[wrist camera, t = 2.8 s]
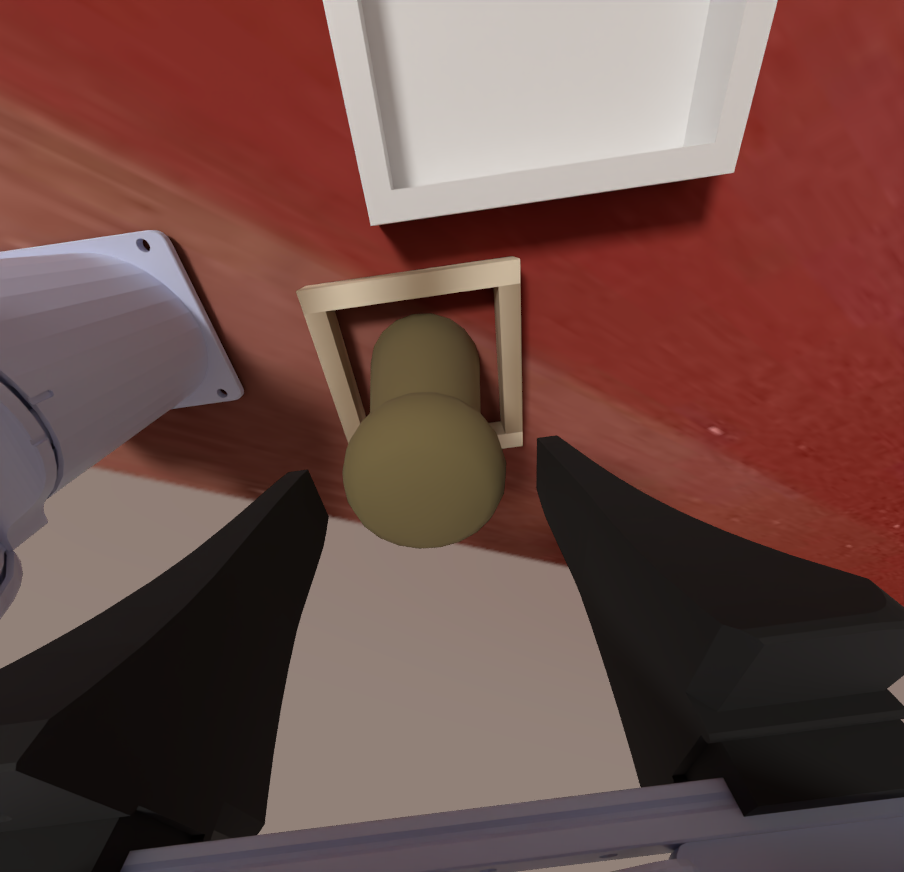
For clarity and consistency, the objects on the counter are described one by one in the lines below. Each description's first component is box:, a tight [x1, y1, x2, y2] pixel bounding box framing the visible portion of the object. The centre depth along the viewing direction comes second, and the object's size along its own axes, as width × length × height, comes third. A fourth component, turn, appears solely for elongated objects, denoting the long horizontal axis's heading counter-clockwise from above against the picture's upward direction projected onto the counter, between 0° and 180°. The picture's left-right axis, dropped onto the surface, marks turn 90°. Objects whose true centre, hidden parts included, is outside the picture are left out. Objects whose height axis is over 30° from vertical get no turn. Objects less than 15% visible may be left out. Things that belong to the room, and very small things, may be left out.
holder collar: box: [296, 256, 523, 449], centre depth 18 cm, size 10×10×2 cm
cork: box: [343, 313, 506, 548], centre depth 14 cm, size 6×6×11 cm
